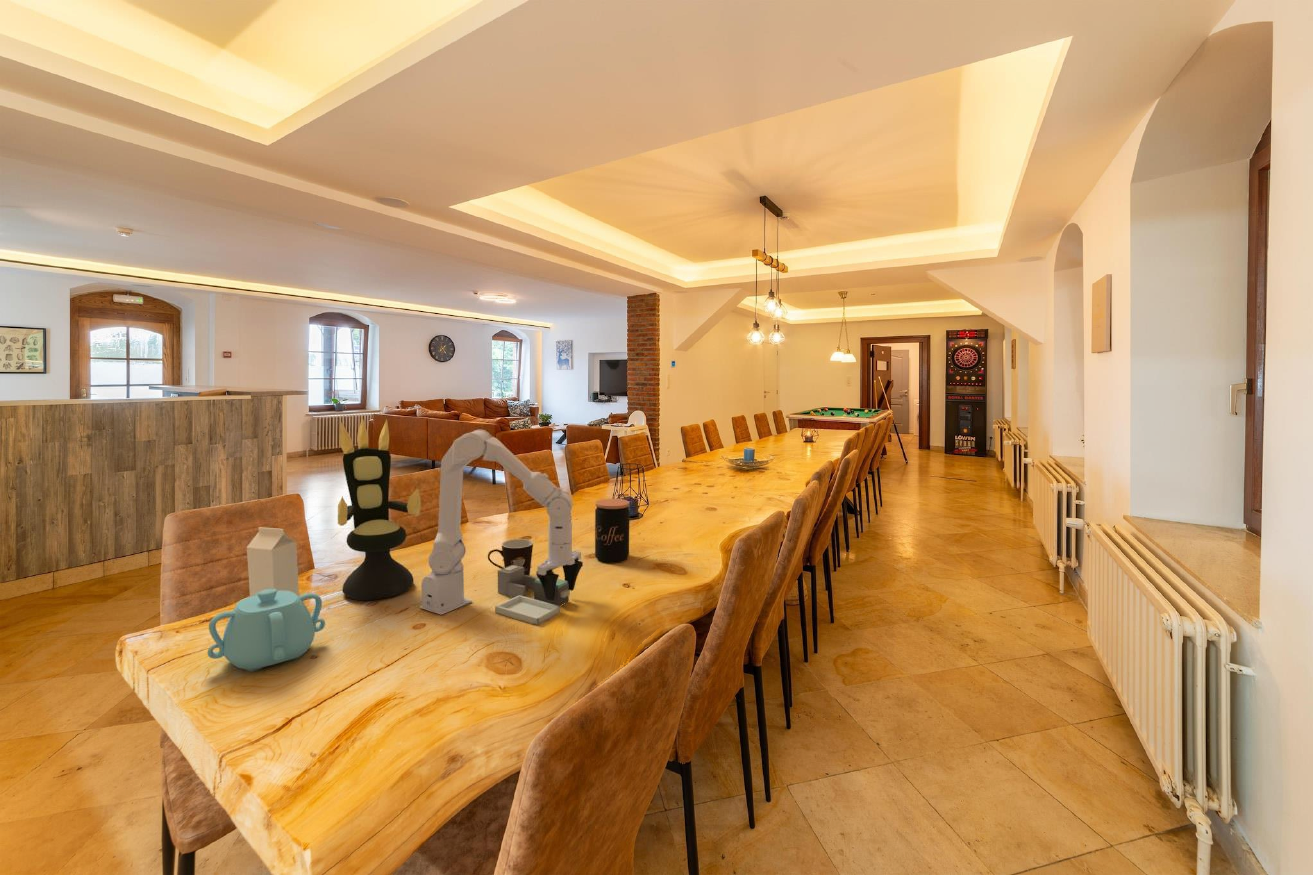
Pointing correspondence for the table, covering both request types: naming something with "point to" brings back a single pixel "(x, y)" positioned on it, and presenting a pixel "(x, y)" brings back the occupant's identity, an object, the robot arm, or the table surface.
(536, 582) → the mint green tabbed block
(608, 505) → the coffee jar
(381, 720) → the table surface
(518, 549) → the coffee mug
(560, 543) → the robot arm
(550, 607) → the tray
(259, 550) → the milk carton
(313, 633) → the decorative pot
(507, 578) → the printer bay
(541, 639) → the table surface
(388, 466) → the black throne chair
